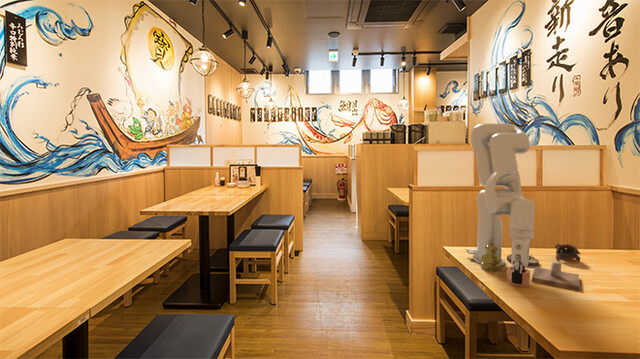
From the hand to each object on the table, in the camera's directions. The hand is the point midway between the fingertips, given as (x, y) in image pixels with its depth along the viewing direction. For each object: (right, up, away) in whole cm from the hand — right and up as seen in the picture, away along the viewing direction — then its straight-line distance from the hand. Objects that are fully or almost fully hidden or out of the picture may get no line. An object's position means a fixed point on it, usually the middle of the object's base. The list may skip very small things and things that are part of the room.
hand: (518, 279), depth 121 cm
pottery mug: (+37, 0, +26) cm, 45 cm away
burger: (+16, 0, +23) cm, 28 cm away
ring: (0, -1, 0) cm, 1 cm away
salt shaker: (-2, 0, +16) cm, 16 cm away
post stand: (+16, -1, +3) cm, 16 cm away
